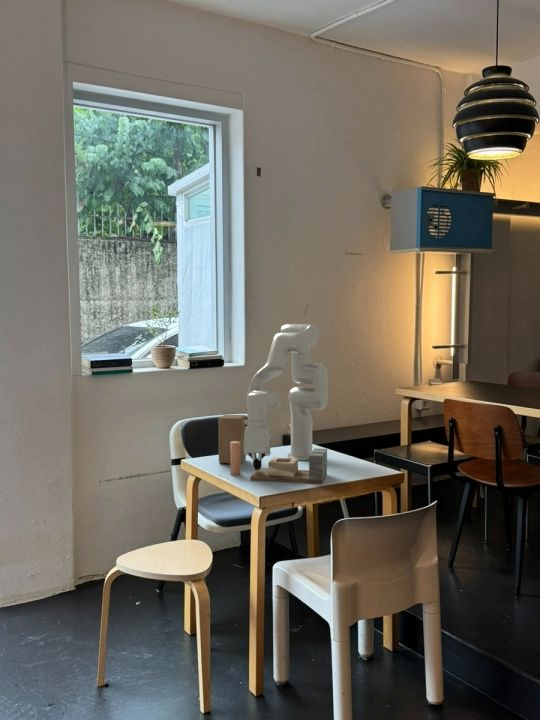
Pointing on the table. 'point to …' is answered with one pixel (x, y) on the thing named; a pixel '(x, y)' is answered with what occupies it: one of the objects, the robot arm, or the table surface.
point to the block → (230, 436)
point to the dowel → (235, 458)
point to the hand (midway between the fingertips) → (257, 469)
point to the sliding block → (283, 466)
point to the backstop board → (300, 471)
